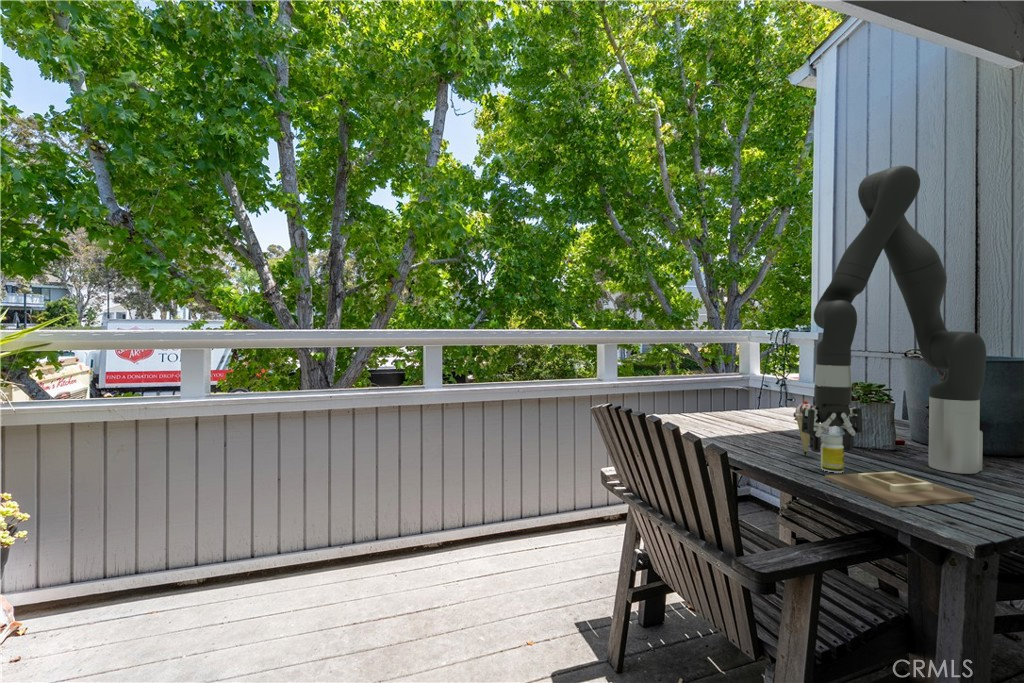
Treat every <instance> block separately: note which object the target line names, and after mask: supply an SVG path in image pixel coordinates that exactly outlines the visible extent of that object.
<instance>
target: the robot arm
mask: <svg viewBox="0 0 1024 683" xmlns="http://www.w3.org/2000/svg"><path fill="white" fill-rule="evenodd" d="M920 188H921V177H920V174H919V173H918V172H917V170H916V169H915V168H913V167H911V166H908V165H897V166H892V167H889V168H885V169H883V170H880V171H876V172H874V173H871V174H869V175H867V176H865V177H864V178H863V179H862V180H861V182H860V183H859V185H858V191H857V196H858V200H859V204H860V206H861V208H862V210H863V211H864V214H865V215H866V217H867V219H868V220H867V222H866V223H865V225H864V226H863V228H862V229H861V230H860V231H859V233H858V234H857V235H856V237H855V238H854V239H853V241H852V242H851V243H850V244H849V245H848V246H847V248H846V250H845V251H844V252H843V254H842V256H841V259H840V260H839V263H838V265H837V267H836V269H835V272H834V274H833V276H832V279H831V281H830V283H829V284H828V286H827V288H826V289H825V290H824V292H823V294H822V295H821V297H820V298H819V300H818V302H817V303H816V306H815V308H814V311H813V321H814V322H815V324H816V325H817V327H819V328H820V329H822V332H823V333H822V338H821V340H820V341H819V342H818V344H817V346H816V362H815V363H816V365H815V370H814V402H815V407H814V409H809V408H804V409H803V418H802V432H804V433H807V434H809V435H810V441H809V448H810V450H811V451H812V452H814V453H821V444H822V443H821V438H822V437H820V436H821V434H822V433H823V432H824V431H825V430H827V429H828V427H829V428H830V427H831V428H832V427H838V428H839V429H840V430H841V431H842V433H843V434H842V445H843V446H844V451H846V452H852V451H853V449H854V447H855V446H854V444H855V443H854V440H855V435H857V434H861V433H863V415H862V414H863V412H862V408H860V407H855V406H850V405H851V404H852V395H853V394H852V387H853V386H852V385H853V381H852V380H853V378H852V377H853V374H852V344H853V342H854V338H855V334H856V330H857V324H858V314H857V310H856V308H855V306H854V305H853V304H852V303H853V301H854V300H855V298H856V297H857V296H858V295H860V294H861V293H862V292H864V290H865V288H866V286H867V284H868V282H869V280H870V278H871V274H872V272H873V270H874V269H875V266H876V265H877V262H878V260H879V258H880V256H881V253H882V252H883V251H884V254H885V255H886V259H887V261H888V263H889V266H890V269H891V273H892V275H893V277H894V279H895V282H896V284H897V286H898V288H899V291H900V292H901V295H902V298H903V301H904V304H905V306H906V309H907V312H908V314H909V317H910V320H911V323H912V325H913V330H914V334H915V338H916V342H917V345H918V349H919V353H920V355H921V356H922V359H923V360H924V362H925V363H926V364H927V365H928V366H930V367H931V368H935V369H941V370H948V371H947V375H946V376H947V377H946V378H945V379H944V380H943V381H941V382H937V383H933V384H931V385H930V387H929V389H928V390H929V391H928V396H929V397H928V402H929V403H928V406H929V407H928V410H929V411H928V467H929V468H932V469H934V470H938V471H942V472H947V473H954V474H962V475H963V474H964V475H966V474H967V475H968V474H969V475H972V474H978V473H979V472H982V471H983V443H984V442H983V437H984V436H983V434H984V433H983V431H982V430H980V424H981V423H980V421H981V420H980V419H981V417H980V415H981V414H980V413H981V412H980V410H981V409H980V408H981V406H980V405H981V404H980V403H981V402H980V401H981V400H980V399H981V392H982V390H983V388H984V385H985V378H986V377H985V376H986V375H985V374H986V363H987V347H986V344H985V341H984V339H983V338H982V337H981V335H980V334H978V333H976V332H972V331H957V330H956V331H950V330H948V329H947V327H946V326H945V323H944V321H943V318H942V313H941V304H942V300H943V298H944V294H945V291H946V287H947V281H948V280H947V279H948V278H947V273H946V271H945V268H944V265H943V263H942V260H941V258H940V255H939V253H938V252H937V250H936V248H935V247H933V245H932V244H931V243H930V242H929V241H928V240H927V239H926V238H925V237H923V236H922V234H920V233H919V232H918V231H917V230H916V229H915V228H913V226H912V225H911V224H910V223H909V221H908V220H907V217H906V215H905V214H906V213H907V211H908V210H909V208H910V207H911V205H912V203H913V202H914V201H915V199H916V197H917V195H918V193H919V191H920ZM816 416H817V417H816ZM815 417H816V419H815V420H814V418H815ZM848 417H849V418H848Z"/></svg>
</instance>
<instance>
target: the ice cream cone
mask: <svg viewBox="0 0 1024 683" xmlns="http://www.w3.org/2000/svg"><path fill="white" fill-rule="evenodd" d="M796 405H797V404H796ZM804 408H809V409H815V407H814V406H813V405H812V404H810V403H809V402H808V401H807V400H804V401H803V402H802V403H800V404H798V405H797V406H796V408H795V412H793V417H794V418H796V422H797V427H798V430H799V431H798V432H799V435H800V440H801V443H802V448H803V453H804V457H805V456H807V453H808V449H809V446H810V435H809V434H807V433H804V432H802V418H803V409H804ZM816 417H817V416H816ZM816 417H815V418H814V420H815V419H816Z"/></svg>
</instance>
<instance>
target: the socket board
mask: <svg viewBox="0 0 1024 683" xmlns="http://www.w3.org/2000/svg"><path fill="white" fill-rule="evenodd" d="M825 479H826V480H829V481H831V482H833V483H832V484H834V483H836V484H838V485H837V486H839V485H840V487H841V486H842V487H841V488H844V487H845V488H844V489H846V488H847V490H849V489H850V490H849V491H851V490H852V492H854V491H855V493H857V494H859V495H861V496H865V497H867V498H870V499H871V500H875V501H877V502H880V503H881V504H885V505H887V506H889V505H890V506H889V507H892V508H902V507H901V506H907V507H918V506H917V505H921V506H932V505H931V504H935V505H946V504H948V503H949V504H960V503H959V502H963V503H973V501H976V500H975V499H976V498H975V496H974V495H971V494H967V493H965V492H961V491H958V490H955V489H951V488H948V487H946V486H942V485H939V484H936V483H932V482H930V481H927V480H924V479H920V478H917V477H913V476H910V475H907V474H904V473H900V472H898V471H895V470H894V471H878V472H876V471H875V472H864V473H863V472H862V473H860V472H859V473H858V472H857V473H846V474H844V473H840V474H828V475H827V474H825V475H824V480H825ZM826 480H825V481H826ZM829 481H828V482H829ZM831 482H830V483H831ZM836 484H835V485H836ZM971 501H972V502H971Z"/></svg>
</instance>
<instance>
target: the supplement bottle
mask: <svg viewBox="0 0 1024 683" xmlns="http://www.w3.org/2000/svg"><path fill="white" fill-rule="evenodd" d="M820 469H822V470H821V471H823V470H824V471H823V472H825V471H828V472H827V473H829V472H834V473H833V474H843V473H844V472H845V450H844V446H843V436H840V435H836V434H835V435H834V434H824V435H822V443H821V444H820ZM842 472H843V473H842Z"/></svg>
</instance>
